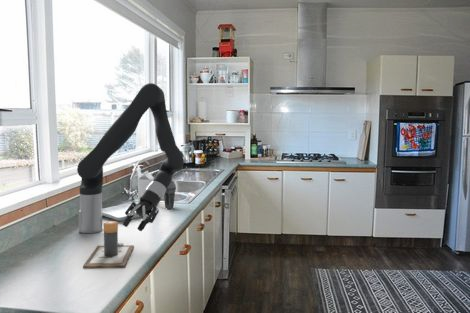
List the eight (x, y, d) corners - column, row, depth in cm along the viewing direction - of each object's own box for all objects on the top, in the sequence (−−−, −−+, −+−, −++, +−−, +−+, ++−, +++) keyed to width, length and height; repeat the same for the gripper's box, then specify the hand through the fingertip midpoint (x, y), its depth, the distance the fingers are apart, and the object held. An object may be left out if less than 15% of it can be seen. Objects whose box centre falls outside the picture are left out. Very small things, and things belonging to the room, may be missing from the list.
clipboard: (83, 268, 132) (82, 263, 132) (97, 247, 152) (97, 243, 152) (124, 267, 133) (124, 262, 133) (133, 247, 153) (133, 242, 153)
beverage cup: (159, 208, 214) (160, 173, 212) (168, 205, 220) (168, 171, 218) (170, 210, 211) (170, 174, 208) (178, 207, 217) (178, 172, 215)
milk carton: (153, 202, 227) (154, 170, 225) (150, 205, 220) (150, 172, 218) (142, 202, 228) (142, 170, 226) (138, 204, 221) (138, 172, 218)
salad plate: (129, 208, 213) (129, 202, 213) (153, 216, 200) (153, 209, 200) (94, 216, 197) (94, 209, 196) (118, 224, 184) (118, 217, 183)
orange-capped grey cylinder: (102, 257, 140) (102, 225, 138) (105, 252, 145) (105, 221, 143) (116, 256, 140) (116, 225, 139) (119, 251, 145) (118, 221, 144)
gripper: (136, 186, 160) (114, 219, 151) (161, 191, 152) (139, 226, 144) (146, 197, 165) (125, 229, 156) (170, 202, 157) (149, 236, 149)
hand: (131, 227), depth 150 cm, fingers open, 8 cm apart
